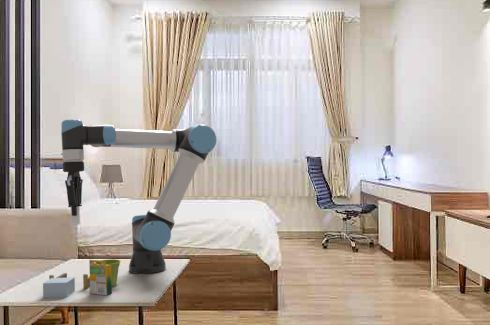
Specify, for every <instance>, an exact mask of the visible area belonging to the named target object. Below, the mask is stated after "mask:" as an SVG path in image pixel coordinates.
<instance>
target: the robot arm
mask: <svg viewBox="0 0 490 325" xmlns="http://www.w3.org/2000/svg"><path fill="white" fill-rule="evenodd" d="M216 145H217V135H216V132H215V130H214V129H213V128H212V127H211V126H209V125H207V124H195V125H193V126H190V127H186V128H181V129H178V128H177V129H174V128H172V130H171V131H167V130H146V129H127V128H126V129H123V128H116V127H115V126H114V125H113V124H90V125H89V124H88V125H87V124H86V125H85V124H84V123H83V121H82V119H65V120H63V121H61V147H62V148H61V149H62V152H61V153H60V154H61V156H62V161H64V162H63V163H62V171H63V172H64V173H67V177H66V180H64V183H65V187H66V196H67V204H68V208H70V218H71V220H70V221H71V222H70V223H71V226H77V225H80V224H81V215H80V214H81V212H80V208H81V207H83V204H82V196H83V195H82V194H83V193H82V192H83V179H82V177H81V174H80V172H85V162H84V160H85V152H84V146H91V147H93V148H100V147H101V148H104V147H105V148H127V149H128V148H130V149H131V148H133V149H158V150H159V149H160V150H165V149H166V150H170V151H171V152H176V153H179V155H178V158H177V159H176V162H175V164H174V166H173V168H172V170H171V172H170V174H169V176H168V178H167V180H166V183H165V185H164V187H163V189H162V191H160V192H161V193H160V195H159V197H158V198H157V201H156V203H155V205H154V207H153V208H151V209H149V210H147V213H146V214H140V215H134V216H133V217H132V218H131V231H132V234H131V235H132V254H131V258H130V261H129V265H128V271H129V273H132V274H154V273H158V272H162V271H165V270H166V269H167V268H166V267H167V265H166V261H165V258H164V255H163V253H162V250H163V249H165V248H166V247H167V246H168V244H169V243H170V241H171V239H172V238H171V236H172V229H173V227H174V226H175V224H176V223H175V219H174V216H175V214H176V213H177V210H178V209H179V206H180V204H181V202H182V200H183V198H184V196H185V194H186V192H187V190H188V188H189V185H190V184H191V182H192V180H193V178H194V175H195V174H196V172H197V169H198V167H199V165H200V164H203V163H205V161H206V159H207V157H208V155H209V153H210V152H212V151H213V150H214V149H215V146H216Z"/></svg>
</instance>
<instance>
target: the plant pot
mask: <svg viewBox="0 0 490 325" xmlns="http://www.w3.org/2000/svg"><path fill="white" fill-rule="evenodd" d="M100 261H106V265H111V279H112V287H115V286H116V285H117V283H118V274H119V267H120V266H121V265H120V263H121V262H122V261H121V260H120V259H114V258H113V259H111V258H110V259H101V260H100ZM94 264H101V263H100V262H94Z"/></svg>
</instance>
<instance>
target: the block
mask: <svg viewBox="0 0 490 325" xmlns="http://www.w3.org/2000/svg"><path fill="white" fill-rule="evenodd" d="M75 280H76V278H75V277H67V278H56V277H54V278H51V279H48V280H47V281H44V282H43V283H42V298H43V297H49V298H68V297H69V296H70V295H72V294H73V293H74V292H76V291H75V290H76V289H75V288H76V281H75Z"/></svg>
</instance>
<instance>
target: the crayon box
mask: <svg viewBox="0 0 490 325" xmlns="http://www.w3.org/2000/svg"><path fill="white" fill-rule="evenodd" d="M88 261H89V264H88V265H89V276H90V287H89V294H90V295H91V294H92V295H93V294H94V295H101V296H108V295H111V294H113V292H112V291H113V290H112V288H113V286H112V279H111V265H106V261H100V260H99V259H98V260H96V259H95V260H94V259H89V260H88ZM94 262H100V263H101V264H94Z"/></svg>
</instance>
